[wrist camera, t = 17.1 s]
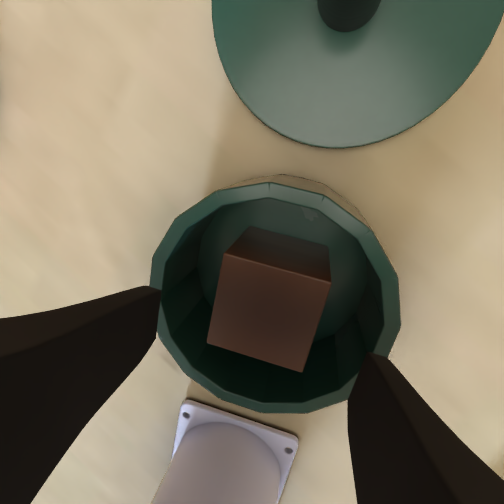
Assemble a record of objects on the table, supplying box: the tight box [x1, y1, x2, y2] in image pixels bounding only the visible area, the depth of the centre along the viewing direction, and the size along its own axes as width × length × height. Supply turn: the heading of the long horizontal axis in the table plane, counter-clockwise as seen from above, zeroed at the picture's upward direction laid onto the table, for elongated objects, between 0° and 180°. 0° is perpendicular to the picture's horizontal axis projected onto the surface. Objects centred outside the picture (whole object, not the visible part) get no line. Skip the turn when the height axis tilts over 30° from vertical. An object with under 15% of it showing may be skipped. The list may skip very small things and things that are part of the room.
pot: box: [149, 174, 401, 414], centre depth 15 cm, size 10×10×5 cm
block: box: [207, 226, 332, 372], centre depth 15 cm, size 4×4×5 cm
